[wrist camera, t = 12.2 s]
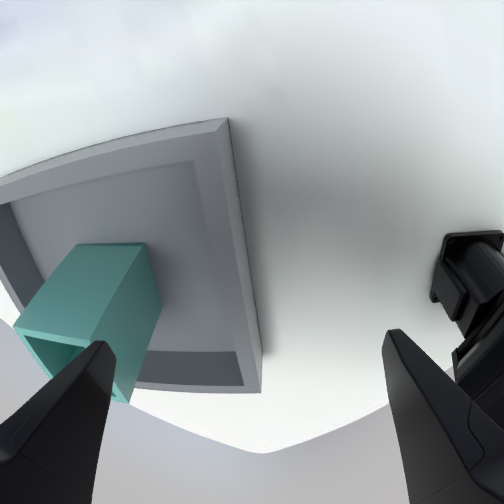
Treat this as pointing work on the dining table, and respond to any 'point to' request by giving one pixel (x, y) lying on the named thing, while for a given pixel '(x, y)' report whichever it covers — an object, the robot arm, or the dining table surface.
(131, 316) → the box
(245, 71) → the dining table surface
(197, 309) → the grey square tray
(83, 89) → the dining table surface
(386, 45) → the dining table surface
